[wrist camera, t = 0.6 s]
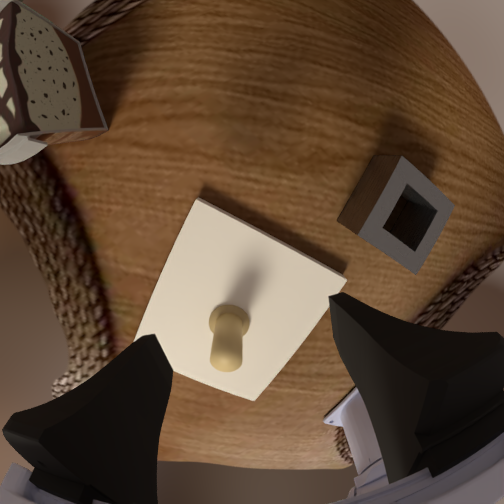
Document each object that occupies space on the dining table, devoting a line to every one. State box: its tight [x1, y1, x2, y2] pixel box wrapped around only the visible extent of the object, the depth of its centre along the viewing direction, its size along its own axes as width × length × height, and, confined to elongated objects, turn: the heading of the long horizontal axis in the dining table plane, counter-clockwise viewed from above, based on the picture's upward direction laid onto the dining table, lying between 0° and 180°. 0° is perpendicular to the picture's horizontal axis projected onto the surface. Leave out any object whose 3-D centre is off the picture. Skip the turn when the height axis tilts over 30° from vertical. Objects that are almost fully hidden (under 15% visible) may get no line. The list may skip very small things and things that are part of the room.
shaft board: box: [134, 197, 347, 401], centre depth 19 cm, size 12×14×6 cm
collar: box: [337, 155, 455, 275], centre depth 17 cm, size 6×6×4 cm
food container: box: [0, 0, 108, 165], centre depth 11 cm, size 12×6×10 cm, turn 23°
